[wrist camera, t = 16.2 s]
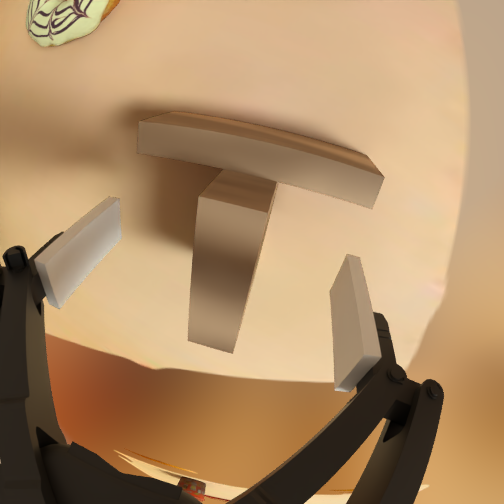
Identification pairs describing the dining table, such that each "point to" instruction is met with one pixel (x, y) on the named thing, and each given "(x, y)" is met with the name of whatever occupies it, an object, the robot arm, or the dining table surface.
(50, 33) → the decorated donut
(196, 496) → the food container
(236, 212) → the pusher
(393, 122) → the dining table surface
